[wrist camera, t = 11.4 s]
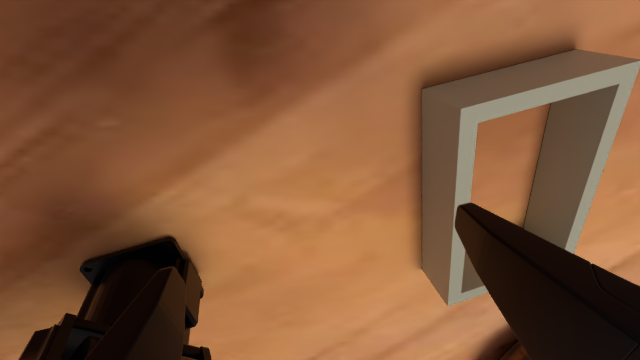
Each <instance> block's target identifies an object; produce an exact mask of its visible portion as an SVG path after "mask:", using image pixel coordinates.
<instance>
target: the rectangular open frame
mask: <svg viewBox="0 0 640 360" xmlns="http://www.w3.org/2000/svg"><path fill="white" fill-rule="evenodd" d="M639 68H640V60H639V59H633V58H627V57H621V56H615V55H609V54H603V53H596V52H590V51H584V50H578V49H575V50H571V51H568V52H564V53H560V54H556V55H552V56H548V57H544V58H541V59H537V60H533V61H529V62H525V63H521V64H517V65H513V66H510V67H506V68H502V69H498V70H494V71H490V72H486V73H482V74H479V75H475V76H471V77H467V78H463V79H459V80H455V81H451V82H448V83H444V84H440V85H436V86H432V87H428V88H424V89H422V270H423V272H424V273H425V274H426V276H427V277H428V279H429V280H430V282H431V283H432V284H433V286H434V287H435V289H436V290H437V292H438V293H439V295H440V296H441V297H442V299H443V300H444V302H445V303H446V305H447V306H451V305H453V304H456V303H459V302H462V301H465V300H468V299H471V298H474V297H477V296H480V295H482V294H485V293H488V290H487V289H486V287H485V286H484V284H483V282H482V281H481V279H480V278H479V276H478V274H477V273H476V271H475V269H474V267H473V265H472V263H471V261H470V259H469V257H468V255H467V252H466V250H465V248H464V246H463V244H462V242H461V240H460V238H459V236H458V234H457V232H456V229H455V217H456V211H457V207H458V206H459V205H461V204H465V203H470V198H471V188H472V177H473V167H474V157H475V147H476V137H477V127H478V123H480V122H483V121H487V120H490V119H494V118H498V117H501V116H505V115H508V114H512V113H516V112H519V111H523V110H526V109H530V108H534V107H537V106H541V105H544V104H548V103H551V106H550V110H549V115H548V119H547V124H546V128H545V133H544V137H543V142H542V146H541V151H540V155H539V160H538V164H537V169H536V173H535V178H534V182H533V187H532V191H531V196H530V200H529V205H528V209H527V214H526V218H525V223H524V227H523V229H525V230H527V231H529V232H531V233H533V234H535V235H537V236H539V237H541V238H543V239H545V240H547V241H549V242H551V243H553V244H555V245H557V246H559V247H561V248H563V249H565V250H567V251H569V252H571V253H573V254H574V251H575V249H576V246H577V243H578V240H579V237H580V234H581V232H582V229H583V226H584V223H585V220H586V217H587V215H588V212H589V209H590V206H591V203H592V201H593V198H594V195H595V192H596V189H597V186H598V184H599V181H600V178H601V175H602V172H603V169H604V167H605V164H606V161H607V158H608V155H609V153H610V150H611V147H612V144H613V141H614V138H615V136H616V133H617V130H618V127H619V124H620V121H621V119H622V116H623V113H624V110H625V107H626V105H627V102H628V99H629V96H630V93H631V90H632V88H633V85H634V82H635V79H636V76H637V73H638V71H639Z"/></svg>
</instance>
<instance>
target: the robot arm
mask: <svg viewBox="0 0 640 360" xmlns="http://www.w3.org/2000/svg"><path fill="white" fill-rule="evenodd" d="M455 229H456V232H457V234H458V236H459V238H460V240H461V242H462V244H463V246H464V248H465V250H466V252H467V255H468V257H469V259H470V261H471V263H472V265H473V267H474V269H475V271H476V273H477V274H478V276H479V278H480V279H481V281H482V282H483V284H484V286H485V287H486V289H487V290H488V292H489V294H490V295H491V297H492V298H493V300H494V302H495V303H496V305H497V306H498V308H499V310H500V311H501V313H502V314H503V316H504V318H505V319H506V321H507V322H508V324H509V326H510V327H511V329H512V330H513V332H514V334H515V335H516V337H517V338H518V340H519V342H520V343H521V345H522V346H523V348H524V350H525V351H526V353H527V354H528V356H529V358H530V359H531V360H640V286H638V285H636V284H634V283H631V282H629V281H627V280H625V279H623V278H621V277H619V276H617V275H615V274H613V273H611V272H609V271H607V270H605V269H603V268H601V267H599V266H597V265H595V264H591V263H590V262H589V261H587V260H585V259H583V258H581V257H579V256H577V255H575V254H573V253H571V252H569V251H567V250H565V249H563V248H561V247H559V246H557V245H555V244H553V243H551V242H549V241H547V240H545V239H543V238H541V237H539V236H537V235H535V234H533V233H531V232H529V231H527V230H525V229H523V228H521V227H519V226H517V225H515V224H513V223H511V222H509V221H507V220H505V219H503V218H501V217H499V216H497V215H495V214H493V213H491V212H489V211H487V210H485V209H483V208H481V207H479V206H477V205H476V204H473V203H465V204H461V205H459V206H458V207H457V211H456V217H455ZM166 244H171V245H166ZM88 267H91V268H88ZM80 272H81V273H82V274H83V275H84V276H85V278H86V279H87V280H88V281H89V282H90V284H91V287H90V289H89V291H88V293H87V295H86V298H85V300H84V302H83V304H82V306H81V308H80V310H79V312H78V315H77V317H76V315H72V314H68V313H65V315H64V316H63V318H62V319H61V320H60V322H59V323H58V325H56V324H55V325H54V326H53V327H51V328H48V329H44V330H39V331H35V333H34V334H33V336H32V337H31V339H30V340H29V342H28V344H27V346H26V347H25V349H24V351H23V353H22V354H21V356H20V358H19V360H211V355H210V350H209V348H206V347H202V346H201V347H200V348H199V347H195V346H191V345H188V344H189V335H190V328H192V327H195V326H196V324H197V323H198V314H199V303H200V299H201V298H202V297H203V294H204V290H203V288H202V286H201V282H202V281H201V279H200V277H199V275H198V273H197V272H196V270H195V268H194V266H193V264H192V263H191V261H190V260H189V259H187V258H185V256H184V254H183V253H182V251H181V249H180V247H179V246H178V244H177V242H176V240H175V239H173V238H170V237H167V238H163V239H160V240H156V241H153V242H149V243H146V244H142V245H139V246H135V247H132V248H128V249H125V250H121V251H118V252H114V253H111V254H107V255H104V256H100V257H97V258H93V259H90V260H86V261H84V262H83V263H82V265H81V267H80Z"/></svg>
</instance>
